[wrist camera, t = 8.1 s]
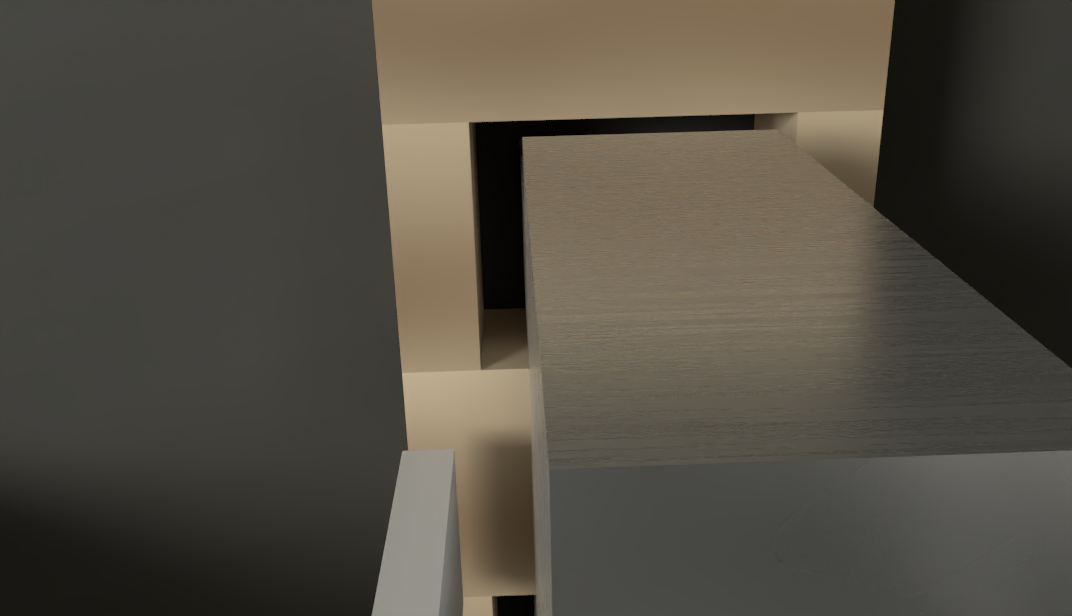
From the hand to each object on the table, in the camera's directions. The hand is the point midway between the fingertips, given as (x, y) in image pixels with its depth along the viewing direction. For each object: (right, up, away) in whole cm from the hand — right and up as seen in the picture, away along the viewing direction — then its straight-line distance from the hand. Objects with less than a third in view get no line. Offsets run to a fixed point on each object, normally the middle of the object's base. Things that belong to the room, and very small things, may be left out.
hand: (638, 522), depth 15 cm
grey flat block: (0, +1, +3) cm, 4 cm away
